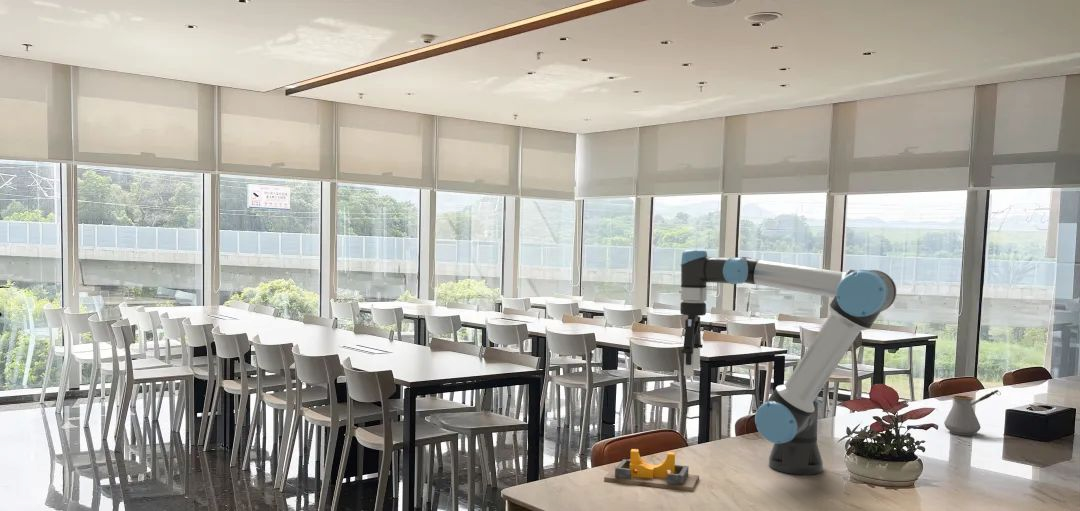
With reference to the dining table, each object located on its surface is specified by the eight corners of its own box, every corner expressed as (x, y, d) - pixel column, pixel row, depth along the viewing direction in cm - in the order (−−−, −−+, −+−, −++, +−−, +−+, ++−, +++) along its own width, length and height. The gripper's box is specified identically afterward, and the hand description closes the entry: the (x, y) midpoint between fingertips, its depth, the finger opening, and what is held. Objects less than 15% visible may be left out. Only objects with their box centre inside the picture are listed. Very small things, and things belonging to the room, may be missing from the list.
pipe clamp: (629, 476, 218) (629, 452, 218) (631, 471, 222) (631, 448, 222) (673, 480, 215) (673, 456, 215) (674, 475, 219) (675, 452, 219)
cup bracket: (698, 478, 220) (699, 466, 220) (692, 491, 208) (692, 478, 208) (614, 469, 228) (614, 457, 228) (604, 480, 216) (604, 468, 216)
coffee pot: (960, 437, 275) (961, 394, 275) (936, 430, 286) (937, 388, 286) (1011, 435, 280) (1012, 392, 280) (985, 427, 292) (986, 387, 291)
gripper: (686, 298, 250) (685, 365, 250) (673, 303, 227) (672, 377, 227) (711, 299, 248) (709, 367, 248) (700, 304, 224) (699, 379, 224)
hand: (691, 372), depth 237 cm, fingers open, 13 cm apart
